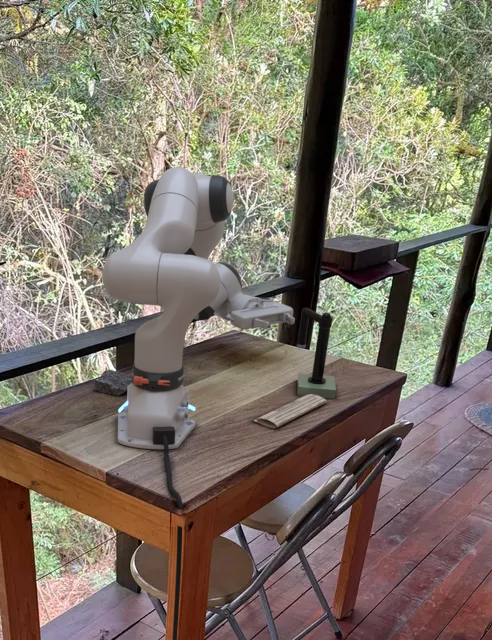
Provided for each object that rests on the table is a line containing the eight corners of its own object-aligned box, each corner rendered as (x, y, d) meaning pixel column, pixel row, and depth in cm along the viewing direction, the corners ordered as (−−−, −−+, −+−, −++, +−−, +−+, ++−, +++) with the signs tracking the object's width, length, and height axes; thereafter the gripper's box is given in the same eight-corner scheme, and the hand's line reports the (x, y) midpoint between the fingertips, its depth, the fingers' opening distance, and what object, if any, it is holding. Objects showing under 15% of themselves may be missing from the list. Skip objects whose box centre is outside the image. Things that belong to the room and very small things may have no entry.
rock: (123, 398, 193) (123, 383, 191) (91, 390, 197) (91, 374, 195) (140, 390, 198) (140, 375, 196) (108, 382, 203) (108, 367, 200)
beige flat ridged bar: (276, 429, 180) (277, 423, 179) (252, 421, 184) (253, 414, 183) (326, 404, 196) (327, 398, 195) (302, 397, 200) (303, 391, 199)
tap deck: (334, 398, 200) (336, 390, 199) (297, 395, 201) (298, 386, 199) (332, 384, 209) (334, 376, 208) (297, 381, 210) (298, 373, 209)
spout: (329, 359, 200) (336, 313, 193) (318, 360, 198) (324, 314, 192) (304, 345, 210) (310, 301, 203) (293, 346, 208) (299, 301, 202)
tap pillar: (325, 385, 201) (334, 330, 194) (308, 383, 202) (315, 329, 194) (325, 379, 205) (333, 325, 198) (307, 377, 206) (315, 324, 198)
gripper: (222, 305, 213) (255, 317, 204) (274, 297, 224) (307, 307, 215) (220, 327, 216) (252, 339, 207) (271, 318, 228) (304, 329, 218)
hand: (281, 323), depth 211 cm, fingers open, 8 cm apart
